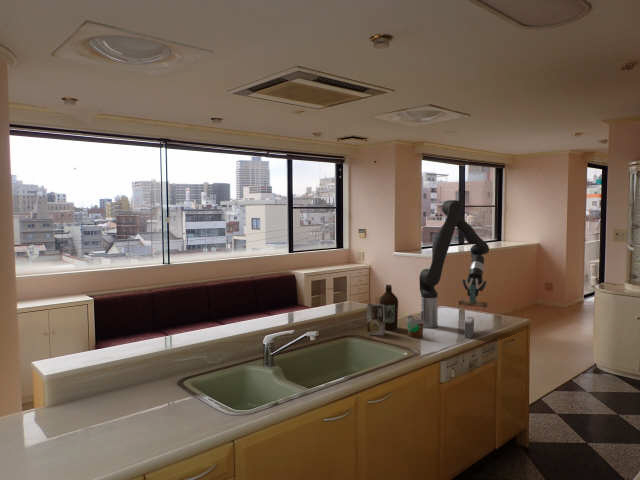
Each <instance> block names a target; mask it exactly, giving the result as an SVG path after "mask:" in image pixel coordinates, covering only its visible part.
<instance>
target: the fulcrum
mask: <svg viewBox="0 0 640 480" xmlns="http://www.w3.org/2000/svg"><path fill="white" fill-rule="evenodd" d="M474 334H475V317H474V316H472V317H471V316H467V318H466V319H465V320H464V338H465V339H472V338H473V336H474Z"/></svg>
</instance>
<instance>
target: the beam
mask: <svg viewBox="0 0 640 480" xmlns="http://www.w3.org/2000/svg"><path fill="white" fill-rule="evenodd" d="M475 291H476V285H470V296H469V300H463V299H462V300H461V299H460V300H458V306H463V307H466V306H467V307H477V308H488V302H485V301H477V297H475Z"/></svg>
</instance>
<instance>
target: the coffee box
mask: <svg viewBox="0 0 640 480" xmlns="http://www.w3.org/2000/svg"><path fill="white" fill-rule="evenodd" d="M366 318H367V319H366V322H367V323H366V325H367V326H366V327H367V329H366V331H367V335H368V336H384V335H385V334H386V330H385V310H384V304H380V303H368V304H367V305H366Z"/></svg>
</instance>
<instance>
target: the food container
mask: <svg viewBox="0 0 640 480" xmlns="http://www.w3.org/2000/svg"><path fill="white" fill-rule="evenodd" d="M405 322H406V323H407V331H408V332H407V334H408V335H407V336H408V337H409V338H412V339H423V336H424V335H423V334H424V327H423V324H424V321H423V320H421V319H420V318H417V317H413V315H408V316H406V320H405Z"/></svg>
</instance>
